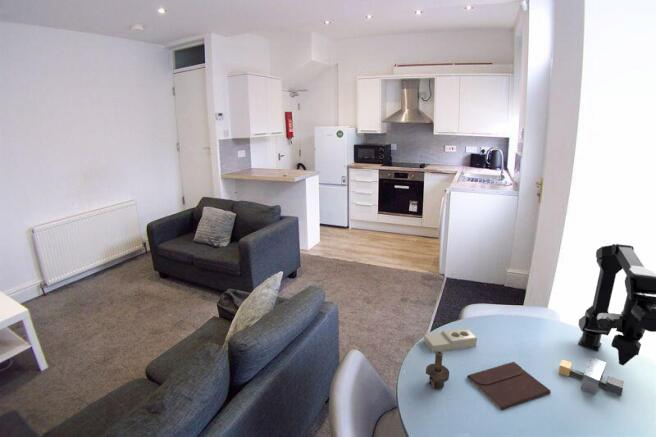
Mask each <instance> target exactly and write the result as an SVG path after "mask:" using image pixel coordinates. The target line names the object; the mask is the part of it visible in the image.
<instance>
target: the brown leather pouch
mask: <svg viewBox="0 0 656 437" xmlns="http://www.w3.org/2000/svg"><path fill="white" fill-rule="evenodd" d="M466 377H467V379H468V380H469V381H470V382H471V383H472V384H473V385H474V386H475V387H477V388H478V389H479V391H481V392H482V393H483V394H484V396H486V397H487V398H488V399H489V400H490V401H491V402H492V403H494V404H495V406H497V407H498V408H499V410H501V411H504V410H507V409H510V408H513V407H515V406H519V405H521V404H524V403H528V402H530V401H533V400H535V399H538V398H542V397H545V396H547V395H551V394H552V391H551V389H549V388H548V387H547V386H546V385H545V384H543V383H542V382H540V381H539V380H538V379H537V378H535V377H534V376H533V375H531V374H530V373H528V372H527V371H526V370H525V369H523V367H522V366H520V365H519V364H518V363H517V362H515V361H511V362H509V363H504V364H501V365H498V366H495V367H491V368H487V369H484V370H481V371H478V372H474V373H470V374H468V375H467V376H466Z"/></svg>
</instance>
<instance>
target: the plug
mask: <svg viewBox="0 0 656 437" xmlns="http://www.w3.org/2000/svg"><path fill="white" fill-rule="evenodd" d="M559 364H560V365H559V369H558V374H562V375H563V376H565V377H570V376H571V377H575V378H577V379H580V380H582V381H583V376H584V373H585V372H582V371H580V370H577V369H574V368H572V365H573V362H571V361H568V360H565V359H561V361H560V363H559ZM624 384H625V383H624V380H622V379H619V378H616V377H614V376H610V375H607V378H606V379H603V378H602V379H600V382H599V386H598V387H600V388H601V387H602V388H604V389H605V391H607V392H609V393H611V394H614V395H618V396H619V397H622V393H623V391H624V390H623V389H624Z"/></svg>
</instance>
